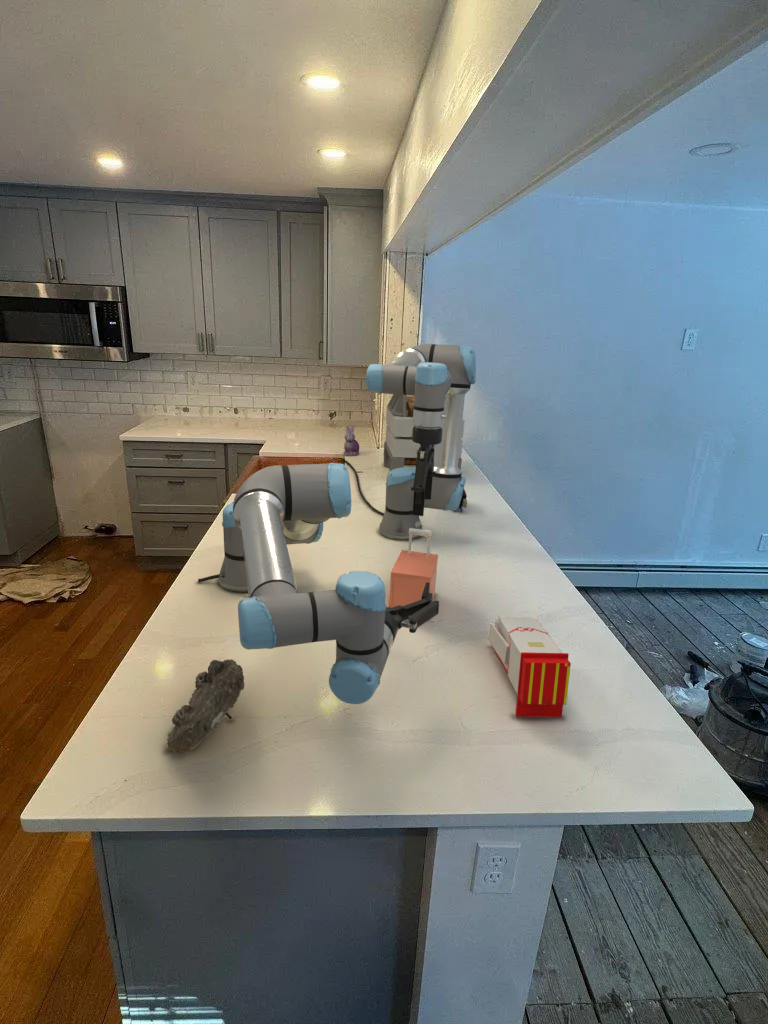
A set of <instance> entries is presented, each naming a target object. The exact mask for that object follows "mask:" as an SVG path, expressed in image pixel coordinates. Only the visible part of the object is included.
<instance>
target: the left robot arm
mask: <svg viewBox="0 0 768 1024" xmlns="http://www.w3.org/2000/svg"><path fill="white" fill-rule="evenodd" d="M351 488H352V487H351V480H350V474H349V469H348V467H347V465H346V464H345V463H337V462H328V463H306V464H305V463H303V464H283V465H282V464H278V465H277V464H276V465H275V464H274V465H270V466H266V467H263V468H261V469H259V470H257V471H255V472H253V473H252V474H251V475H250V476H249V477H247V478H246V479H245V481H244V482H243V483H242V484H241V485H240V487H239V488H238V490H237V492H236V493H235V495H234V498H233V501H232V502H230V503H228V504H227V505H225V507H224V508H223V510H222V522H221V526H222V529H223V530H222V531H223V532H222V533H223V550H224V551H223V553H224V556H223V559H222V564H221V567H220V570H219V573H218V574H213V575H209V576H205V577H201V578H197V582H198V583H204V582H207V581H211V580H215V579H218V583H219V585H220V586H221V587H222V588H223V589H225V590H227V591H230V592H236V593H248V597H247V598H242V599H240V600H239V601H238V603H237V617H238V630H239V642H240V646H242V648H243V649H245V650H264V649H265V650H266V649H267V650H273V649H275V648H283V647H290V646H298V645H304V644H312V643H319V642H327V641H328V642H329V641H335V662H334V663H333V664H332V666H331V668H330V674H329V676H328V686H329V688H330V691H331V693H332V694H333V695H334V697H335V698H337V699H338V700H339V701H341V702H343V703H345V704H349V705H362V704H364V703H367V702H368V701H369V700H371V699H372V698H373V696H374V695H375V693H376V691H377V688H378V687H379V686H380V684H381V678H382V675H383V673H384V670H385V666H386V664H387V661H388V657H389V655H390V653H391V650H392V647H393V645H394V642H395V640H396V636H397V634H398V631H399V630H401V629H402V628H405V629H408V632H409V633H410V634H415V633H416V632H417V631H418V629H419V627H421V626H422V625H424V624H425V623H427V622H429V621H430V620H431V619H432V618H435V617H436V616H437V615H439V613H440V601H439V600H433V601H432V597H433V594H432V593H429V585H430V583H427V582H426V584H425V587H424V590H423V593H422V598H421V600H419V601H416V602H413V603H411V604H408V605H405V606H401V605H398V606H395V607H393V608H391V607H389V606H387V604H386V601H387V600H386V585H385V582H384V580H382V578H381V577H380V576H379V575H377V574H375V573H372V572H369V571H364V570H353V571H349V572H348V573H343V574H341V575H340V576H339V577H338V579H337V580H336V585H335V588H334V589H327V590H317V591H309V592H298V591H299V590H298V586H297V582H296V578H295V574H294V570H293V566H292V565H293V564H292V561H291V558H290V557H291V556H290V554H289V548H288V546H289V545H299V544H301V545H303V544H306V545H307V544H308V545H309V544H312V543H317V542H319V541H320V540H321V538H322V536H323V531H324V523H325V522H327V521H329V520H330V519H342V518H348V517H349V516H350V515H351V513H352V490H351ZM397 612H398V613H397Z"/></svg>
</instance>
